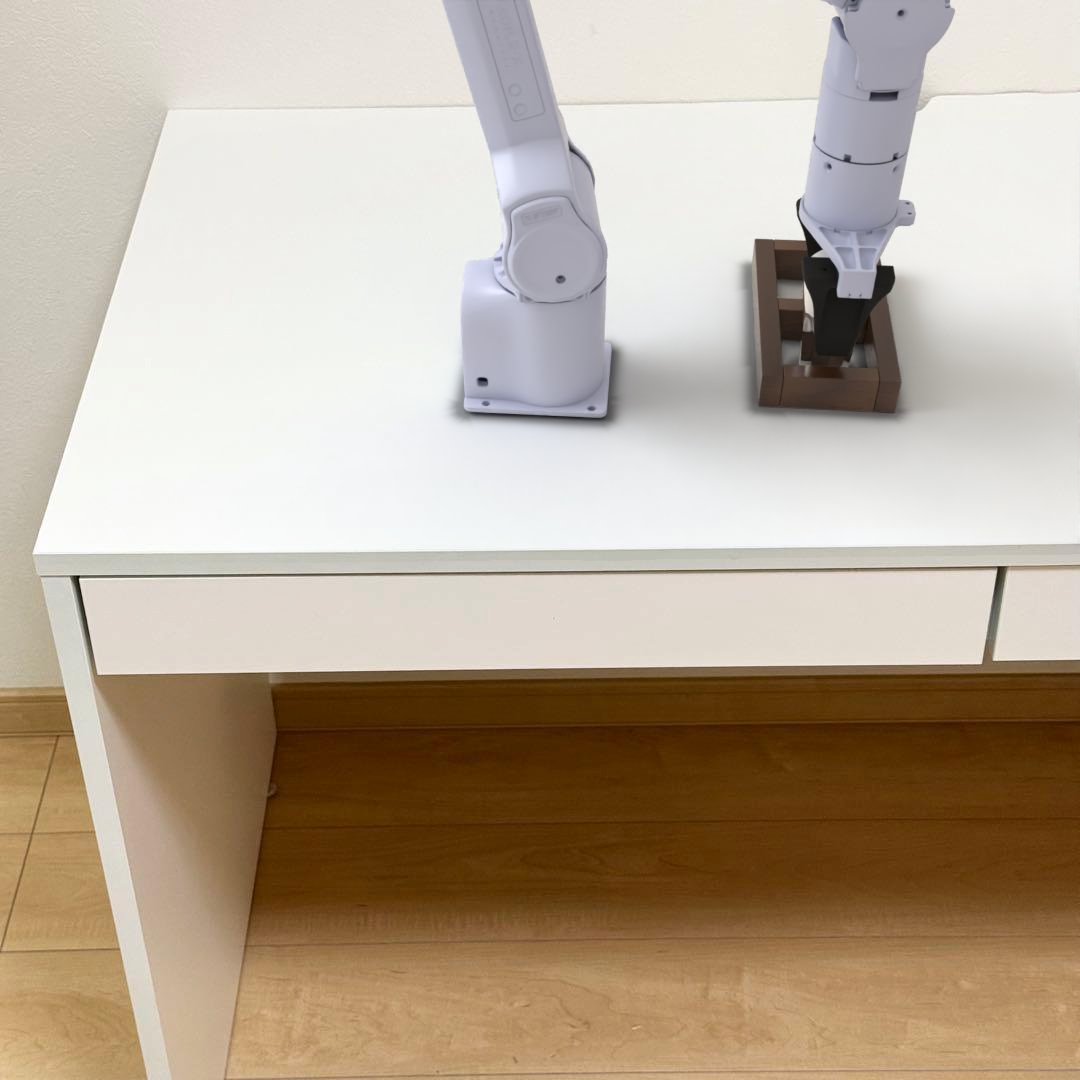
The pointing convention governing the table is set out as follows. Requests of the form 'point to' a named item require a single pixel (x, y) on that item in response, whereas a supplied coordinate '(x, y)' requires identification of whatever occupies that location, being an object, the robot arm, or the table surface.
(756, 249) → the rack
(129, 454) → the table surface
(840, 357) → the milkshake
